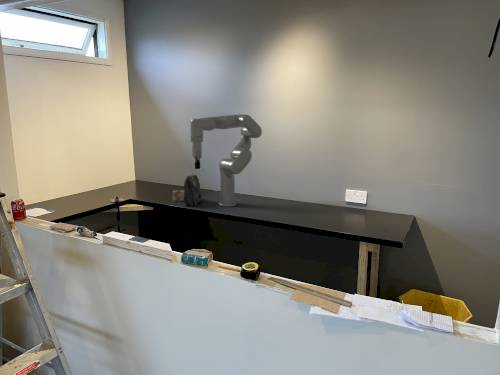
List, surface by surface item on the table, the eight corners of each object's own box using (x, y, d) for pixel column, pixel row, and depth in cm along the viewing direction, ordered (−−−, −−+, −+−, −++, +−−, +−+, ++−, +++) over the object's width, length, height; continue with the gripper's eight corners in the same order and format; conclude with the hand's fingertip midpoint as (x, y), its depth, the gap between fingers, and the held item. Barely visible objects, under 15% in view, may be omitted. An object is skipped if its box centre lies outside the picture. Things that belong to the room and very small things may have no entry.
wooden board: (201, 199, 252) (201, 189, 251) (201, 199, 251) (201, 190, 249) (173, 200, 248) (172, 190, 246) (173, 201, 246) (172, 191, 244)
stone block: (194, 207, 231) (194, 177, 227) (182, 206, 233) (181, 177, 229) (204, 200, 248) (204, 173, 244) (193, 200, 250) (192, 172, 246)
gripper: (189, 138, 220) (190, 167, 224) (192, 140, 206) (192, 170, 210) (201, 138, 222) (202, 166, 226) (204, 140, 208) (205, 170, 212)
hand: (197, 168), depth 218 cm, fingers closed
